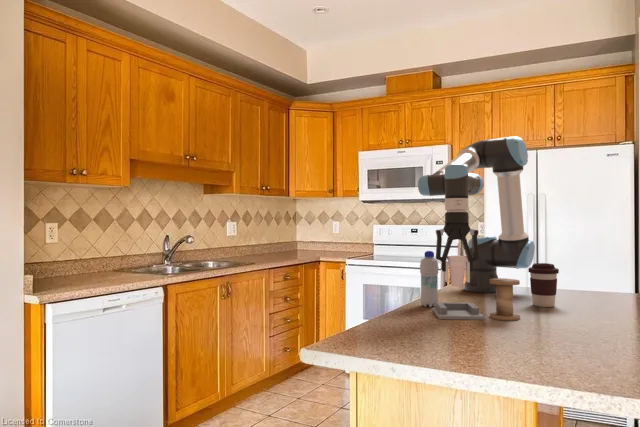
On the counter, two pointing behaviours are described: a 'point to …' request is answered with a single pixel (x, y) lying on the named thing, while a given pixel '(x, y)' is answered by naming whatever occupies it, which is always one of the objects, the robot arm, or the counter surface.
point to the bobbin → (504, 299)
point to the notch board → (457, 311)
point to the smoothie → (457, 268)
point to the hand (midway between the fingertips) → (457, 281)
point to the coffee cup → (543, 284)
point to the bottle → (429, 280)
